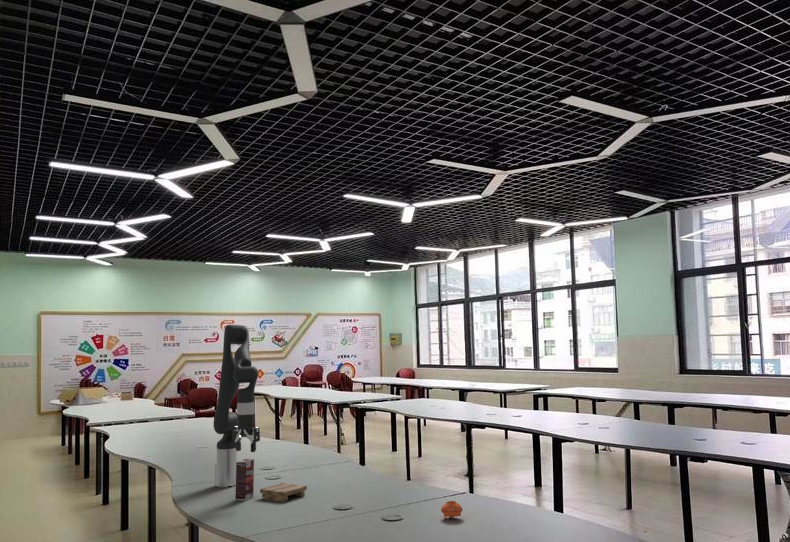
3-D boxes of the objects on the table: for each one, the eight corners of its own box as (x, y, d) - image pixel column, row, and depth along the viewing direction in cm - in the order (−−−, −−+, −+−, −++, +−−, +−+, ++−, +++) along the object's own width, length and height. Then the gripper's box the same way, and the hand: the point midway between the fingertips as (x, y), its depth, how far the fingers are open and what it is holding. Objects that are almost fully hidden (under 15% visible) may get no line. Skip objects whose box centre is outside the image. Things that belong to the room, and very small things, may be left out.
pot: (452, 522, 223) (448, 502, 225) (439, 523, 229) (435, 504, 231) (469, 517, 228) (465, 498, 230) (455, 518, 234) (451, 499, 236)
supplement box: (245, 501, 261) (246, 462, 263) (234, 501, 262) (235, 462, 264) (254, 496, 270) (254, 458, 272) (243, 496, 271) (244, 458, 273)
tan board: (260, 498, 265) (260, 489, 266) (282, 492, 277) (282, 482, 278) (285, 502, 258) (285, 492, 259) (306, 495, 270) (306, 485, 270)
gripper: (227, 413, 271) (227, 451, 269) (251, 414, 264) (251, 453, 262) (240, 411, 277) (240, 449, 275) (264, 412, 270) (264, 451, 268)
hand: (245, 451), depth 268 cm, fingers open, 8 cm apart
